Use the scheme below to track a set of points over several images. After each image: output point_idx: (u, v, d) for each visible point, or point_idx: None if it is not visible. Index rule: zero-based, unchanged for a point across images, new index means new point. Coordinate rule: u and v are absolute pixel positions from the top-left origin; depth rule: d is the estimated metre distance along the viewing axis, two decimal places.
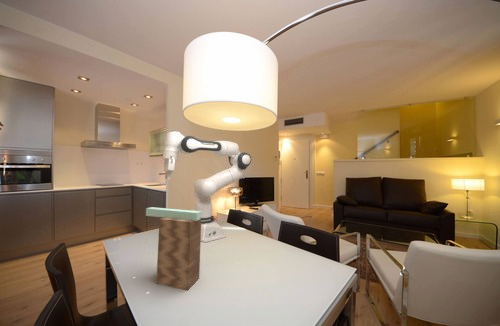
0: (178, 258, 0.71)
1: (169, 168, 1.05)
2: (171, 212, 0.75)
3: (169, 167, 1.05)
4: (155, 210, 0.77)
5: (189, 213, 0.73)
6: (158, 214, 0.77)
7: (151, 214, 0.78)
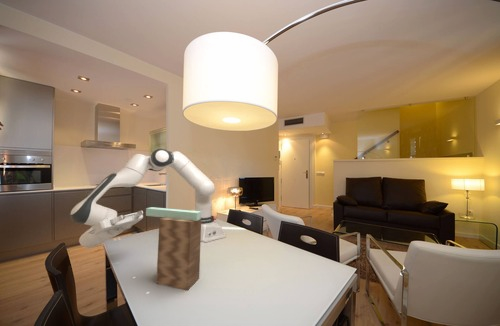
0: (178, 258, 0.71)
1: (100, 228, 0.73)
2: (171, 212, 0.75)
3: (99, 229, 0.73)
4: (155, 210, 0.77)
5: (189, 213, 0.73)
6: (158, 214, 0.77)
7: (151, 214, 0.78)
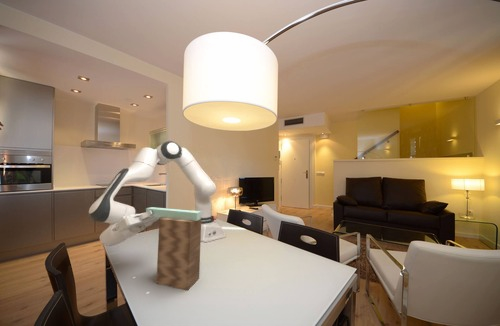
0: (178, 258, 0.71)
1: (125, 225, 0.70)
2: (171, 212, 0.75)
3: (124, 226, 0.71)
4: (155, 210, 0.77)
5: (189, 213, 0.73)
6: (158, 214, 0.77)
7: None
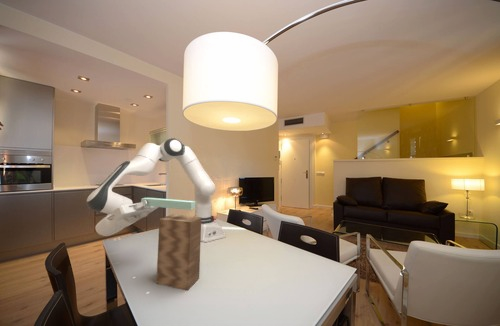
0: (178, 258, 0.71)
1: (119, 213, 0.71)
2: (166, 202, 0.76)
3: (118, 214, 0.71)
4: (150, 200, 0.78)
5: (183, 202, 0.74)
6: (153, 204, 0.78)
7: None
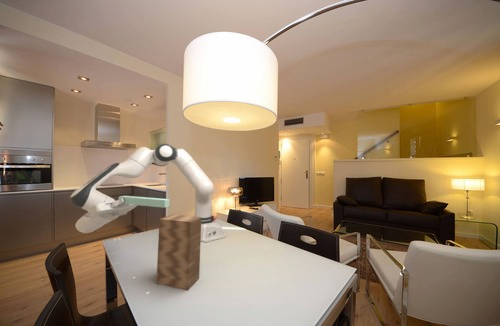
0: (178, 258, 0.71)
1: (95, 211, 0.74)
2: (141, 200, 0.79)
3: (94, 212, 0.74)
4: (127, 198, 0.81)
5: (157, 200, 0.77)
6: (130, 201, 0.81)
7: None
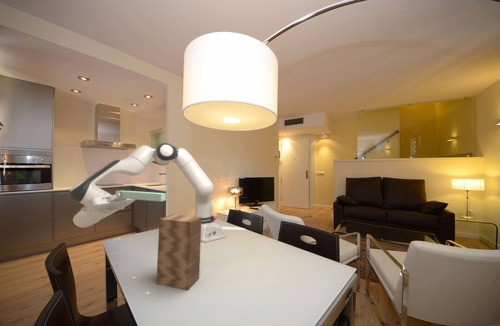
0: (178, 258, 0.71)
1: (92, 205, 0.75)
2: (138, 194, 0.80)
3: (91, 205, 0.75)
4: (123, 192, 0.82)
5: (154, 194, 0.78)
6: (127, 196, 0.81)
7: None
